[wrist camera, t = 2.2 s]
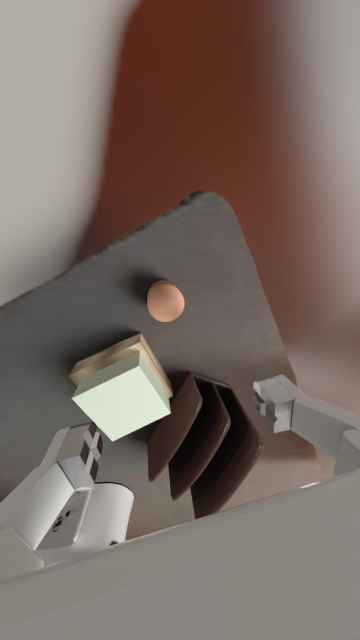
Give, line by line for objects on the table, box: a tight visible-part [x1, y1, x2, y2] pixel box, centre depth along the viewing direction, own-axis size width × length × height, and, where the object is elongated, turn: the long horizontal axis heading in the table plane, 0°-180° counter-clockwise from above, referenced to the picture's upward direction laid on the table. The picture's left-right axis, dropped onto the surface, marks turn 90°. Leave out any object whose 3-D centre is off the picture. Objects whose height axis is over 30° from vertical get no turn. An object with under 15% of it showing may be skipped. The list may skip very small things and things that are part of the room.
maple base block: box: [69, 333, 173, 398], centre depth 32 cm, size 12×12×4 cm
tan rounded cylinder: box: [147, 280, 184, 322], centre depth 27 cm, size 5×5×5 cm
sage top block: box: [72, 351, 171, 441], centre depth 29 cm, size 10×10×4 cm
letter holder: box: [147, 372, 263, 519], centre depth 33 cm, size 10×20×14 cm, turn 152°
